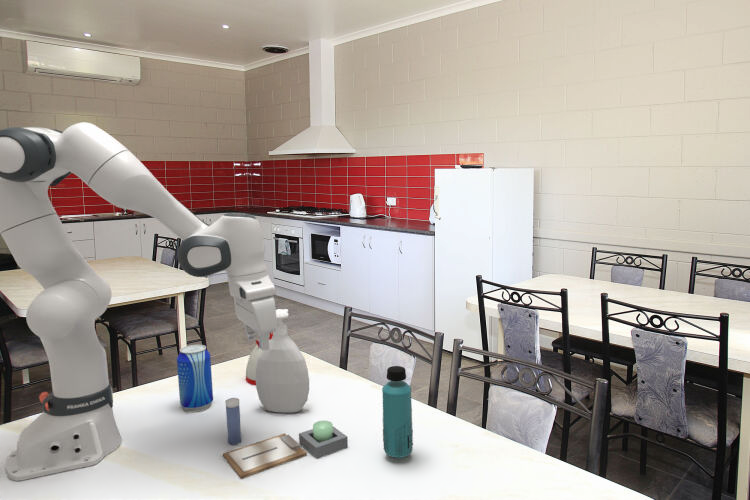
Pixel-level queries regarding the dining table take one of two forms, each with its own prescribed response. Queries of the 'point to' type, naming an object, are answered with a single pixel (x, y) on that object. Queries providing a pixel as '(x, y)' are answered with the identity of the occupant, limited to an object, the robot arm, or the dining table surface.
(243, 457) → the clipboard
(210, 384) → the beer can
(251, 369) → the kitchen timer
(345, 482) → the dining table surface
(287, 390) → the soap bottle
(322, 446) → the button housing
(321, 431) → the button
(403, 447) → the beverage bottle
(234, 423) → the marker
